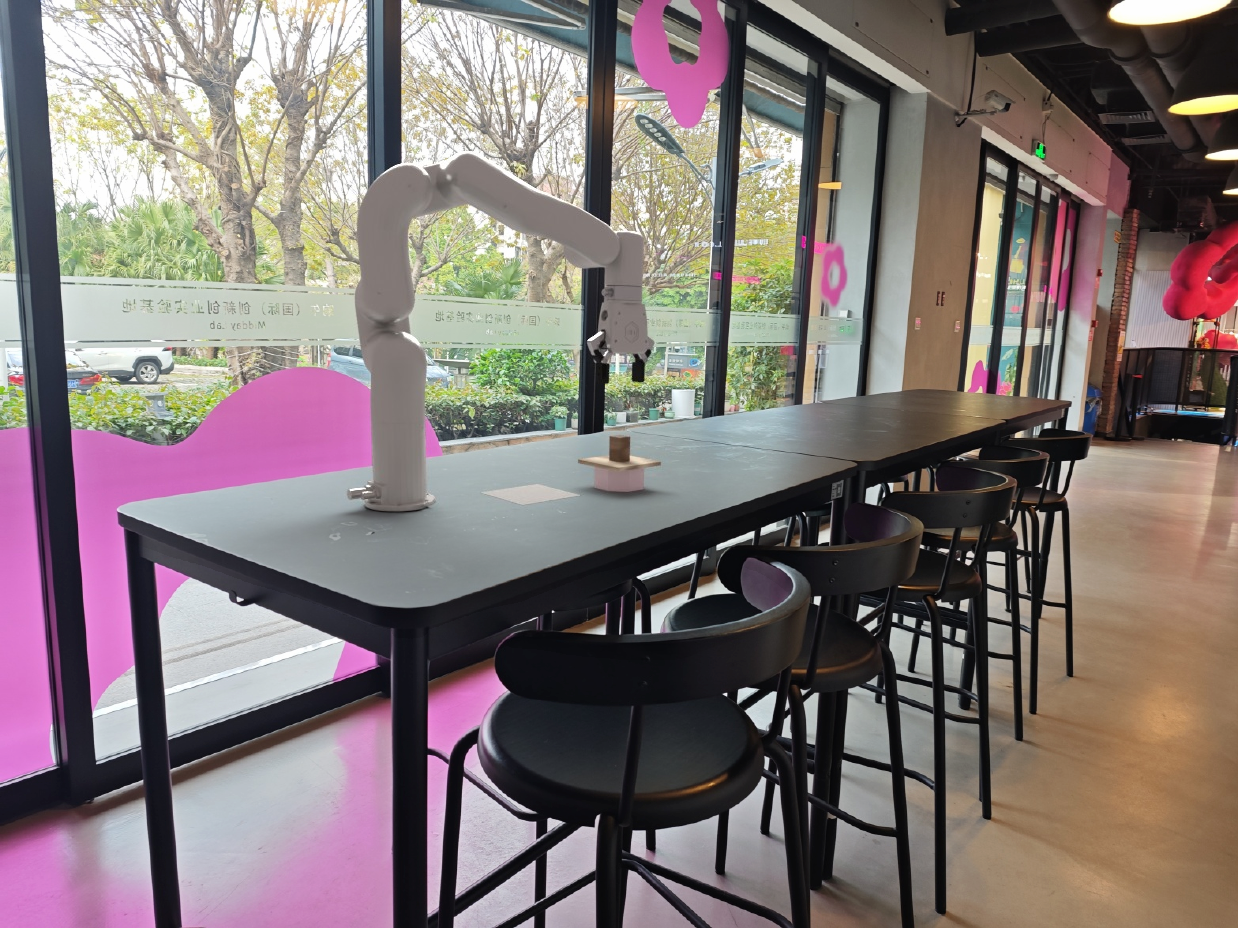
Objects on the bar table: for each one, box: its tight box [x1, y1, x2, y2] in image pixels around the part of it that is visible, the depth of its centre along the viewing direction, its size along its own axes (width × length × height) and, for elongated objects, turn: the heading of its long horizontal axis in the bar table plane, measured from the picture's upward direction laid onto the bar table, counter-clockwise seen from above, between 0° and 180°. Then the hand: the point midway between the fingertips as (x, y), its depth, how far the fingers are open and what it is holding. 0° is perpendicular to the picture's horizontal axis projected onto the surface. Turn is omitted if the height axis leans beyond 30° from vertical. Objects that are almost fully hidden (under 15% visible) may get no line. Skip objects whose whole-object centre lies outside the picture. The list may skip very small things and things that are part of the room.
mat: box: [480, 483, 581, 506], centre depth 163 cm, size 14×14×1 cm
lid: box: [577, 434, 662, 472], centre depth 171 cm, size 12×12×6 cm
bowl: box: [593, 467, 645, 493], centre depth 172 cm, size 10×10×5 cm
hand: (620, 382), depth 168 cm, fingers open, 9 cm apart
